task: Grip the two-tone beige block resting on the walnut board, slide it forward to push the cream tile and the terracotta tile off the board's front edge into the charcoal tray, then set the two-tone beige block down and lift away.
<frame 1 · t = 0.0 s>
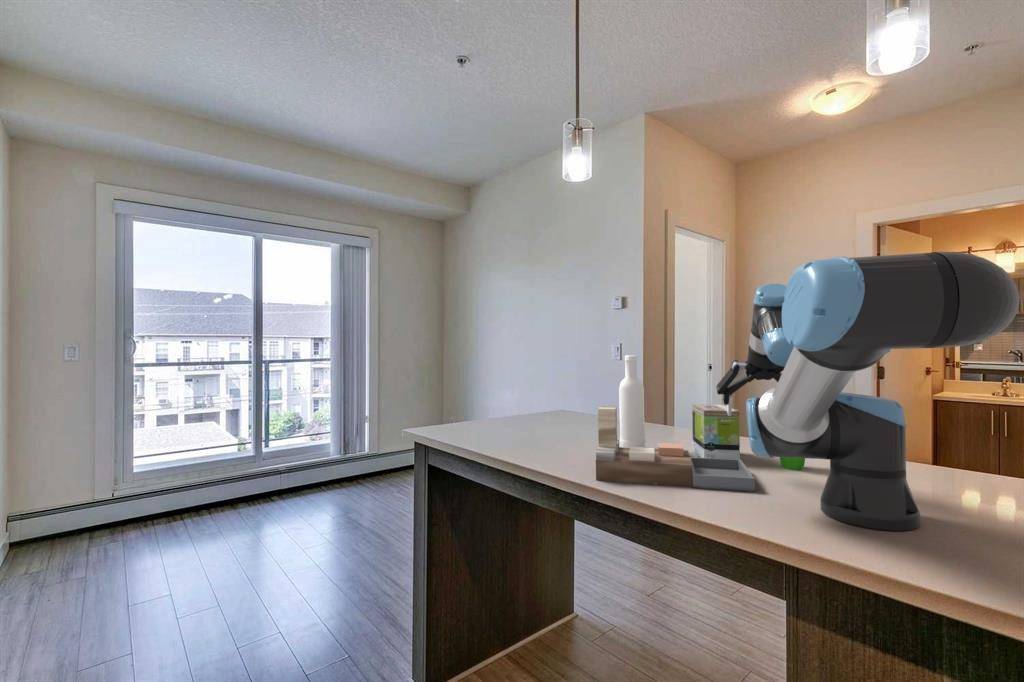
hand: (757, 412, 122), 15 cm above the worktop, tool tilted 35°, fingers open, 13 cm apart
tea box: (715, 457, 139), on the worktop
cream tile: (642, 458, 118), point 5 cm above the worktop, touching board
board: (643, 474, 121), on the worktop
cup: (792, 468, 125), on the worktop
two-tone beige block: (608, 453, 124), point 5 cm above the worktop, touching board
terracotta tile: (670, 453, 123), point 5 cm above the worktop, touching board
tray: (718, 479, 116), on the worktop
bottle: (632, 449, 151), on the worktop
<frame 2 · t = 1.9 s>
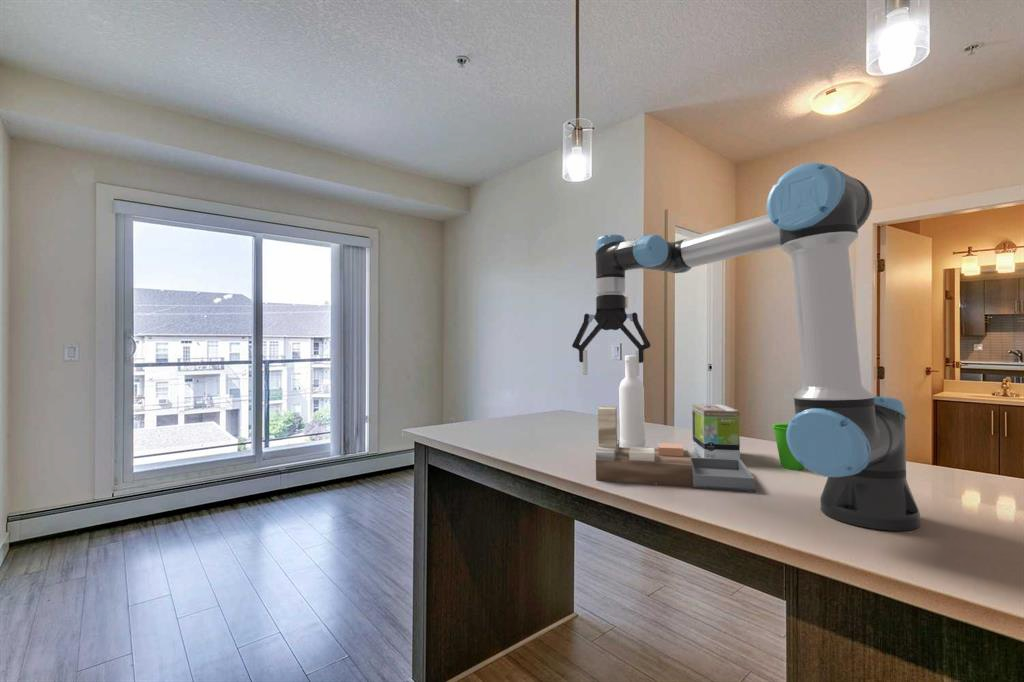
hand: (610, 375, 125), 25 cm above the worktop, tool pointing down, fingers open, 13 cm apart
nothing on the worktop moved.
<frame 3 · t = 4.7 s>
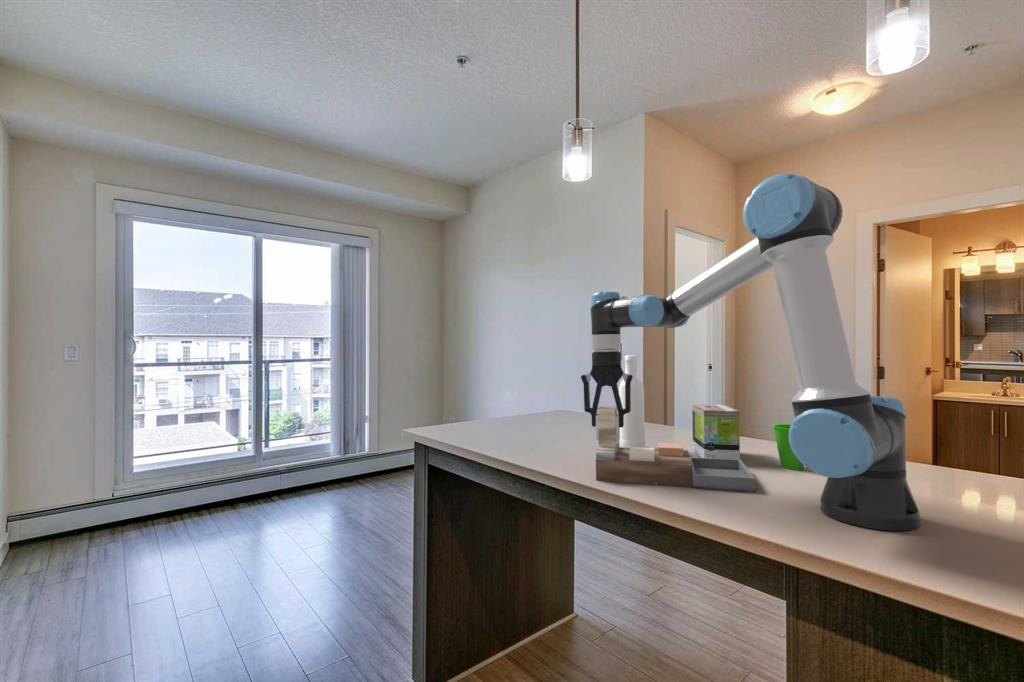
hand: (608, 439, 124), 9 cm above the worktop, tool pointing down, fingers closed on two-tone beige block, 4 cm apart
two-tone beige block: (608, 453, 124), point 5 cm above the worktop, touching board, gripper
everything else where it was.
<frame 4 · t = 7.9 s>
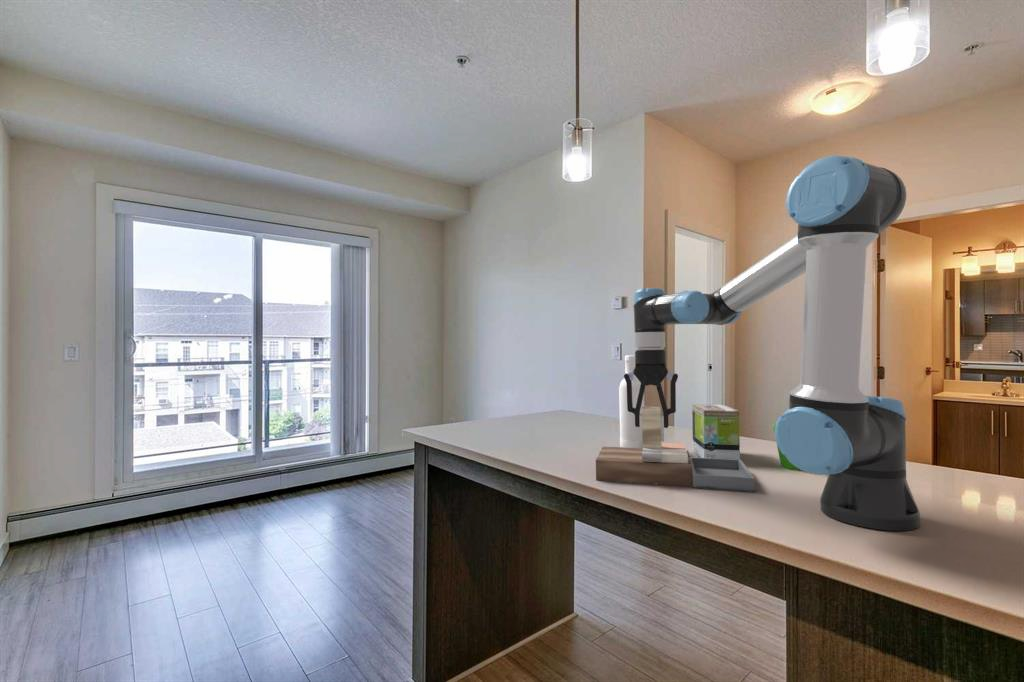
hand: (652, 439, 121), 9 cm above the worktop, tool pointing down, fingers closed on two-tone beige block, 4 cm apart
cream tile: (674, 459, 116), point 5 cm above the worktop, touching board, two-tone beige block
two-tone beige block: (652, 454, 120), point 5 cm above the worktop, touching cream tile, gripper
terracotta tile: (673, 453, 123), point 5 cm above the worktop
everything else where it was.
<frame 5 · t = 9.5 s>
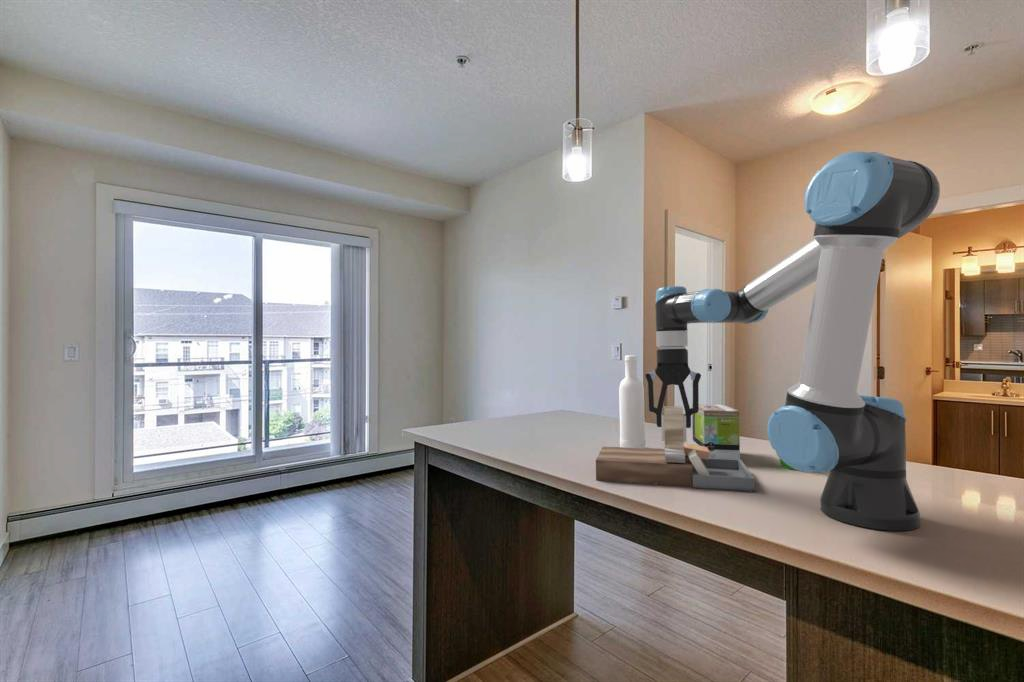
hand: (673, 440, 119), 9 cm above the worktop, tool pointing down, fingers closed on two-tone beige block, 4 cm apart
cream tile: (695, 466, 114), point 4 cm above the worktop, tilted 60°
two-tone beige block: (674, 454, 119), point 5 cm above the worktop, touching gripper, terracotta tile
terracotta tile: (694, 454, 121), point 5 cm above the worktop, tilted 8°, touching board, two-tone beige block
everything else where it was.
when the fingers open (9 cm above the worktop, at t = 10.6 s): two-tone beige block stays where it is, resting on board.
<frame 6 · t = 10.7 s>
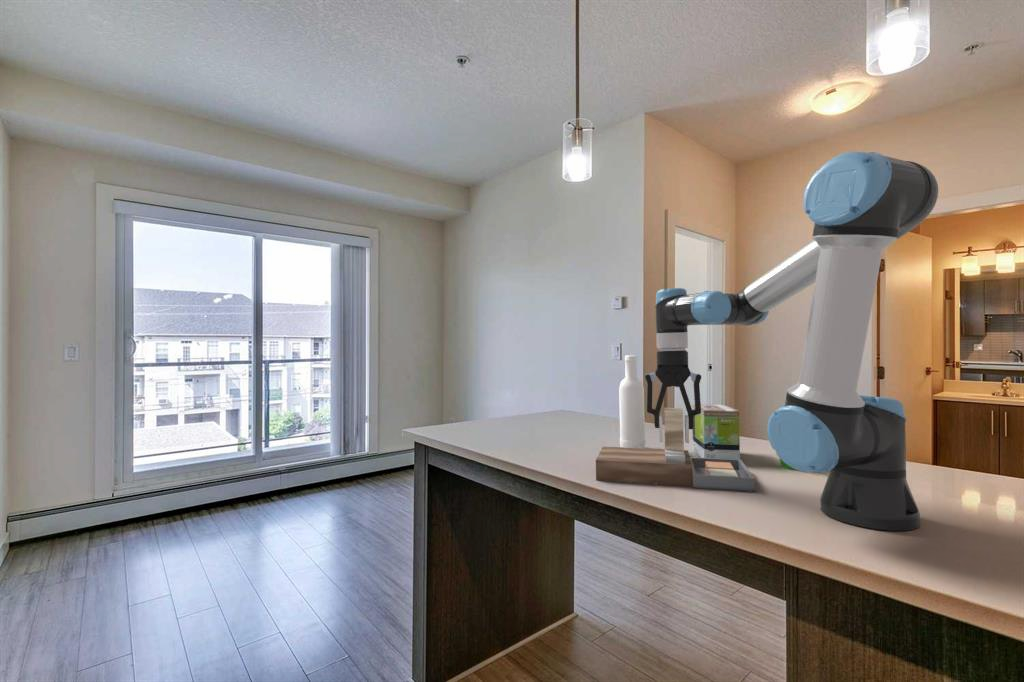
hand: (674, 441, 119), 9 cm above the worktop, tool pointing down, fingers open, 5 cm apart
cream tile: (722, 472, 112), point 3 cm above the worktop, tilted 180°, touching tray
two-tone beige block: (674, 456, 119), point 5 cm above the worktop, touching board
terracotta tile: (719, 464, 120), point 3 cm above the worktop, tilted 180°, touching tray
everything else where it was.
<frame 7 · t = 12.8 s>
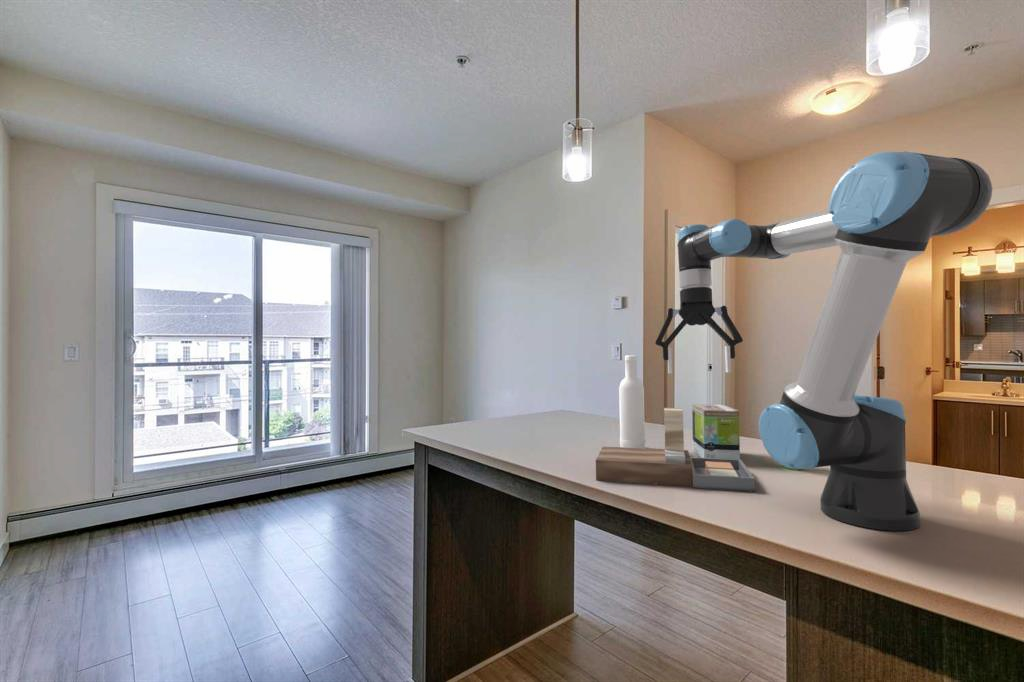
hand: (698, 373, 117), 26 cm above the worktop, tool pointing down, fingers open, 13 cm apart
nothing on the worktop moved.
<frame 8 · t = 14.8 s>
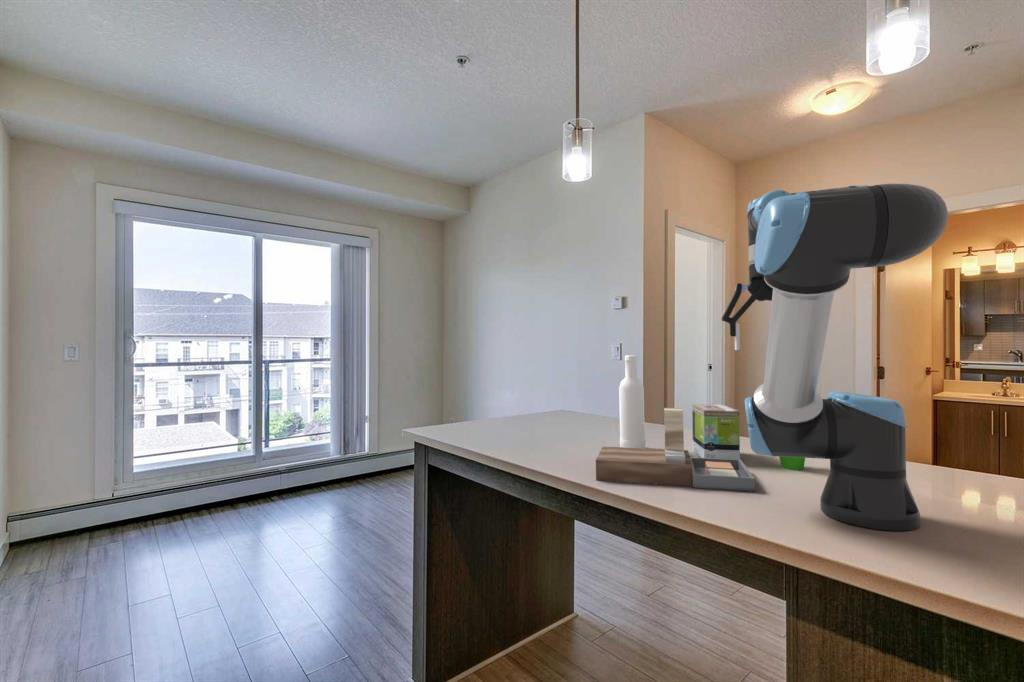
hand: (767, 349, 115), 32 cm above the worktop, tool pointing down, fingers open, 13 cm apart
nothing on the worktop moved.
at the end: cream tile inside the target area on the tray (3.7 cm from its centre), point 2.6 cm above the tray's base; terracotta tile inside the target area on the tray (3.8 cm from its centre), point 2.6 cm above the tray's base; two-tone beige block inside the target area on the board (7.5 cm from its centre), point 5.0 cm above the board's base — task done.
